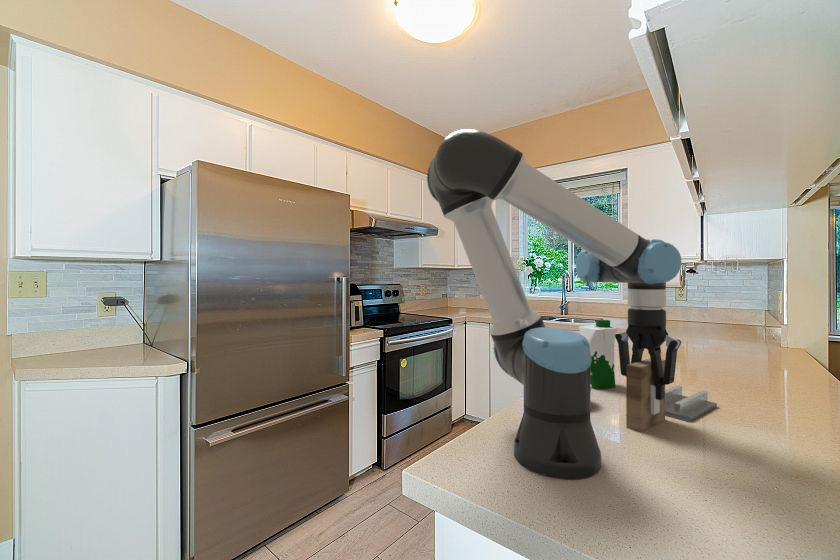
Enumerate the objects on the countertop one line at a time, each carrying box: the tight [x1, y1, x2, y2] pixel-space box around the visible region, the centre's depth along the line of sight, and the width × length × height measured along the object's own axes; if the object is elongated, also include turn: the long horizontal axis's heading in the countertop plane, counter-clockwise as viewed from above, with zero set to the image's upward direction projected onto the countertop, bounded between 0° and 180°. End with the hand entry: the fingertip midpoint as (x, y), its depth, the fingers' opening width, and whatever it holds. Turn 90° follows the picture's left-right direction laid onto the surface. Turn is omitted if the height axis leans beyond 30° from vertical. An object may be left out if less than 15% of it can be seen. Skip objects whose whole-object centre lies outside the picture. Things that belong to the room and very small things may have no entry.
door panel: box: [625, 357, 666, 433], centre depth 87 cm, size 12×3×14 cm, turn 125°
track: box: [665, 385, 718, 423], centre depth 97 cm, size 17×11×4 cm, turn 125°
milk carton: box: [578, 319, 618, 390], centre depth 117 cm, size 9×9×20 cm
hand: (646, 410), depth 87 cm, fingers closed on door panel, 3 cm apart
